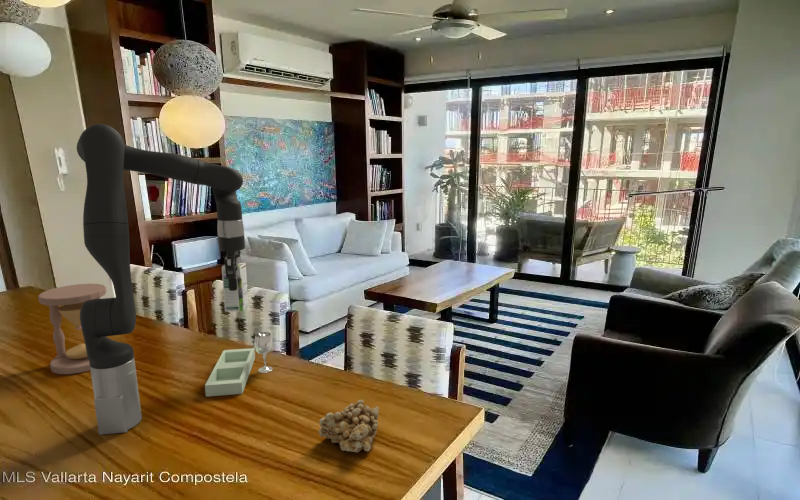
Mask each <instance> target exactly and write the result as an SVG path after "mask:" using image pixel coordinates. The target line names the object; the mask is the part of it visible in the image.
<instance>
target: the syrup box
mask: <svg viewBox="0 0 800 500" xmlns="http://www.w3.org/2000/svg"><path fill="white" fill-rule="evenodd" d="M235 267H236V266H235ZM221 274H222V275H221V276H222V288H223V289H222V290H223V302H224V311H225V313H226V312H227V313H228V312H240V313H241V312H244V311H245V310H246V309H247V308H248V307H249V295H248V294H249V293H248V279H247V278H248V277H247V265H246V262H241V263H238V270H237V271H236V274H237V275H236V276H237V277H236V279H237V290H235V291H230V290H229V281H228V278H226V271H225V264H222V266H221ZM230 274H233V271H230Z"/></svg>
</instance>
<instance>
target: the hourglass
mask: <svg viewBox="0 0 800 500" xmlns="http://www.w3.org/2000/svg"><path fill="white" fill-rule="evenodd" d="M106 293H107V287H106V286H105V285H104V284H101V283H79V284H78V283H77V284H71V285H69V284H68V285H64V286H60V287H55V288H52V289H51V288H50V289H48V290H45V291H43V292H40V294H39V295H38V296H37V297H38V298H37V299H38V302H39V304H41V305H44V306H48V308H49V321H50V322H51V325H52V326H53V333H52V334H53V335H52V339H53V343H54V345H55V350H56V356H55V357H54V358H53V359H52V360H51V361H50V363H49V368H50V370H51V371H50V372H52V373H54V374H57V375H72V374H73V375H75V374H81V373H85V372H89V371H90V372H91V370H90V364H89V359H88V356H87V351H86V346H85V343H80V344H78V345H76V346H73V347H71V348H69V349H67V350H66V346H65V343H66V342H65V341H66V340H65V339H66V338H65V337H66V336H65V333H64V332H63V330H62V327H61V324H62V316H63V317H64V318H65V319H67V320H68V321H69V322H70V323H72V324H73V325H74V326H75V329H76V330H78V331H79V330H82V328H81V323H80V310H81V307H82V305H83V303H84V302H85V301H88V300H93V299H101V297H103V296H105V295H106ZM106 337H107V338H108V336H106Z"/></svg>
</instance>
